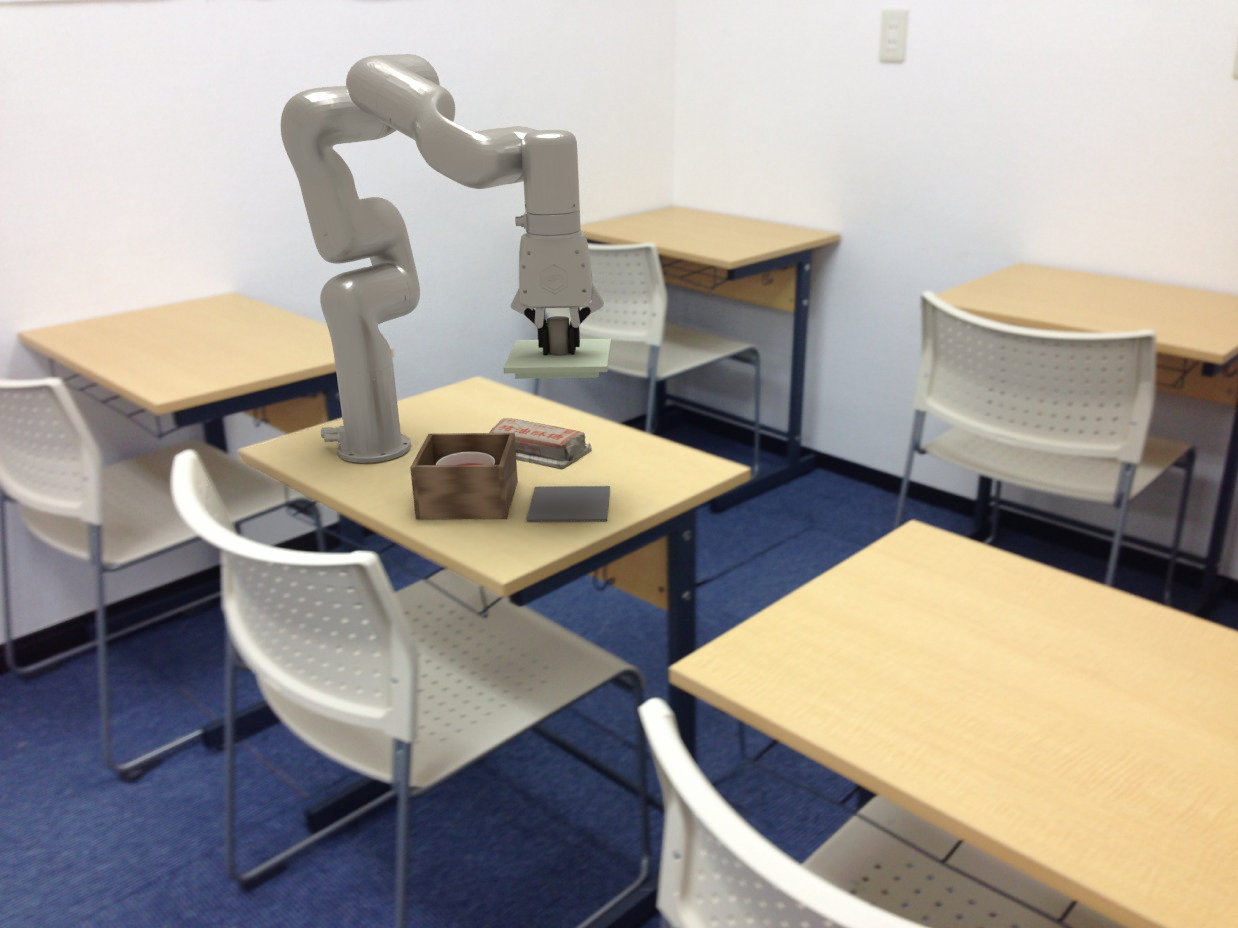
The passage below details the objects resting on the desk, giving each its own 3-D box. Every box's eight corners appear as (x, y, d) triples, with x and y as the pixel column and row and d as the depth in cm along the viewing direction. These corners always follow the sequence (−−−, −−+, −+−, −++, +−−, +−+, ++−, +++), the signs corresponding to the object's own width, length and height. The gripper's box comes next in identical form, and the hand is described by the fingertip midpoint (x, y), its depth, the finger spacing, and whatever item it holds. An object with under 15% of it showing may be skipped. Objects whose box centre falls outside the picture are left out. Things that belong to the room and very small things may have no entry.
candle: (467, 517, 157) (464, 479, 155) (427, 502, 162) (423, 465, 160) (509, 497, 163) (506, 460, 161) (469, 483, 169) (466, 447, 166)
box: (415, 519, 157) (410, 467, 153) (433, 482, 169) (428, 433, 166) (506, 518, 156) (503, 466, 153) (517, 481, 169) (514, 432, 166)
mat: (526, 521, 155) (526, 519, 155) (535, 488, 166) (534, 486, 166) (607, 521, 155) (607, 518, 155) (610, 488, 166) (610, 485, 166)
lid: (504, 381, 145) (500, 333, 143) (517, 352, 159) (514, 307, 156) (607, 380, 145) (605, 331, 142) (611, 351, 158) (610, 306, 155)
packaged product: (593, 426, 179) (561, 445, 172) (593, 452, 181) (563, 472, 173) (507, 410, 188) (474, 427, 180) (509, 435, 190) (476, 453, 182)
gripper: (490, 230, 141) (499, 360, 148) (611, 227, 140) (615, 359, 147) (498, 221, 148) (506, 346, 155) (613, 218, 147) (617, 344, 154)
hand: (559, 351), depth 151 cm, fingers closed on lid, 3 cm apart
